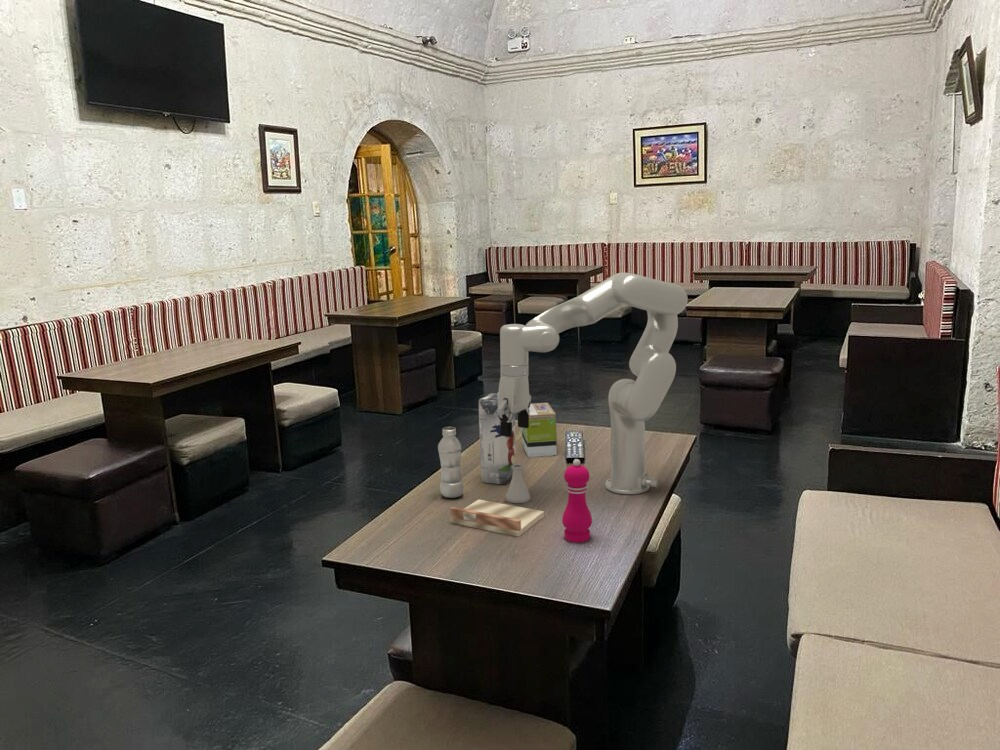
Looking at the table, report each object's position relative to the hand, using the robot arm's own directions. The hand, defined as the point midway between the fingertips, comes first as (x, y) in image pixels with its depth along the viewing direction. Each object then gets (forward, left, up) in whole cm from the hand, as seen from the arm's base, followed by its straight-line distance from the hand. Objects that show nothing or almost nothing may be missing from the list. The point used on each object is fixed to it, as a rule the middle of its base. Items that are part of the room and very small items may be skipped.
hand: (515, 431), depth 205 cm
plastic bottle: (+18, +6, -20) cm, 27 cm away
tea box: (+15, -43, -20) cm, 50 cm away
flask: (0, 0, -20) cm, 20 cm away
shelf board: (-2, +15, -20) cm, 25 cm away
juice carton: (+13, -12, -20) cm, 27 cm away
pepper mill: (-25, +16, -20) cm, 36 cm away
